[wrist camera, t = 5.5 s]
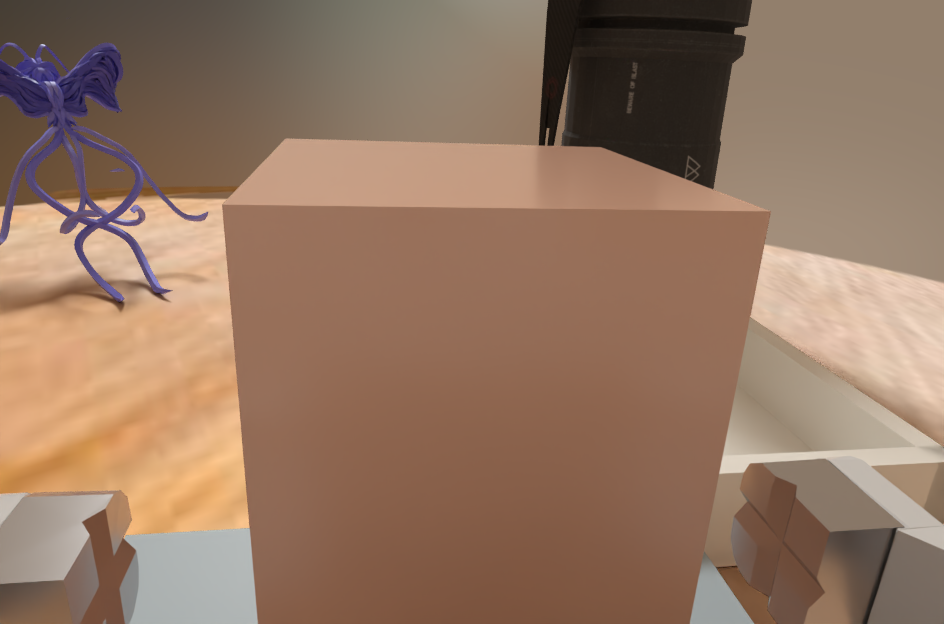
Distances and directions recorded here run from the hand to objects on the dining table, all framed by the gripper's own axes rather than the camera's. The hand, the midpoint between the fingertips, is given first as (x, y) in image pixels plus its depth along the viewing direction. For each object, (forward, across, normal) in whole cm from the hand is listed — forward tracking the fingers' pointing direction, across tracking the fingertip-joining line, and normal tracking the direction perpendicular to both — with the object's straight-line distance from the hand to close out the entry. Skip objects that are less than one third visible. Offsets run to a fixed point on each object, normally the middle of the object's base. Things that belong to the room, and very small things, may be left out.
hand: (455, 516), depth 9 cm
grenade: (+29, -13, +7) cm, 32 cm away
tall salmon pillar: (0, 0, +5) cm, 5 cm away
